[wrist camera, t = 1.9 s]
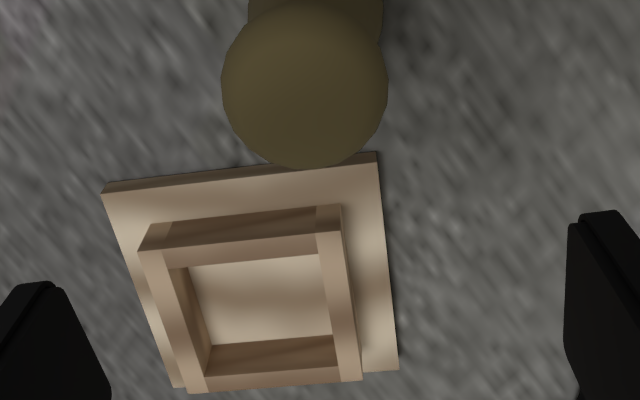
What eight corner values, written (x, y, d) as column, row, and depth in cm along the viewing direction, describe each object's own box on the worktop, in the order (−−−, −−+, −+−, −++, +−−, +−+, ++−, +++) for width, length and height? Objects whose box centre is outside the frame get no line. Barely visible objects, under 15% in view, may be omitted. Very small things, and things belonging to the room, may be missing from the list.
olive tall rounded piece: (375, -69, 25) (397, -16, 16) (390, 71, 28) (415, 187, 19) (234, -46, 26) (171, 19, 16) (262, 89, 29) (224, 210, 19)
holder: (107, 182, 31) (81, 220, 28) (375, 151, 30) (380, 187, 27) (177, 373, 38) (163, 421, 35) (397, 354, 37) (403, 402, 34)
